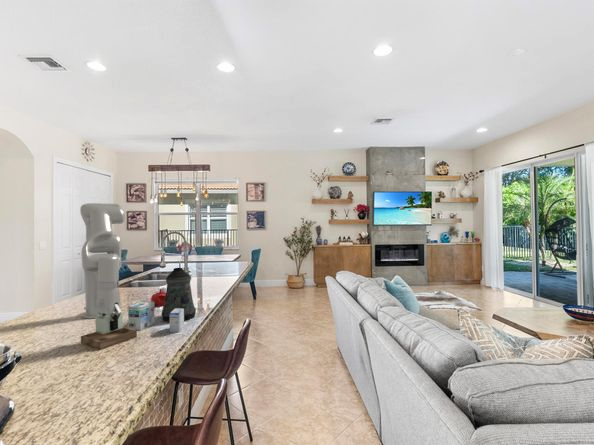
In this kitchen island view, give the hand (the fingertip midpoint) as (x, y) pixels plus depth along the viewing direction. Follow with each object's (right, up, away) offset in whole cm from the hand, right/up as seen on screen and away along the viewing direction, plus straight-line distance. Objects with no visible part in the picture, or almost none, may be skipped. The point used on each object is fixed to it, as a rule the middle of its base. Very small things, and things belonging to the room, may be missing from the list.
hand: (109, 328), depth 139 cm
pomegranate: (-2, -4, +56) cm, 56 cm away
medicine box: (+23, -5, +13) cm, 27 cm away
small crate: (0, -1, 0) cm, 1 cm away
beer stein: (+17, -5, +32) cm, 36 cm away
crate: (0, -5, 0) cm, 5 cm away
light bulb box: (+5, -5, +18) cm, 19 cm away
